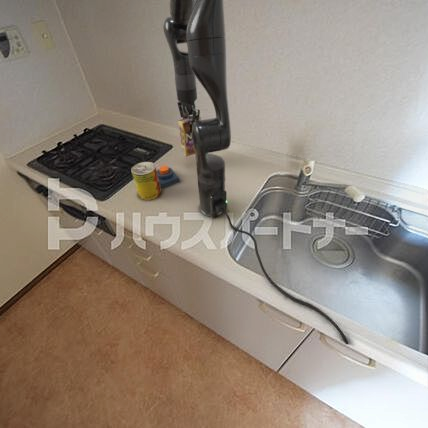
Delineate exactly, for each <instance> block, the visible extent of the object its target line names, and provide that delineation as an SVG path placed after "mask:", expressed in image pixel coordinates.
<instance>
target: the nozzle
mask: <svg viewBox="0 0 428 428" xmlns="http://www.w3.org/2000/svg"><path fill="white" fill-rule="evenodd" d="M169 168H170V166H168V165H162V166H160V167H158V169H159V171H160V174H161V175H166V174H168V173H169Z"/></svg>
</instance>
